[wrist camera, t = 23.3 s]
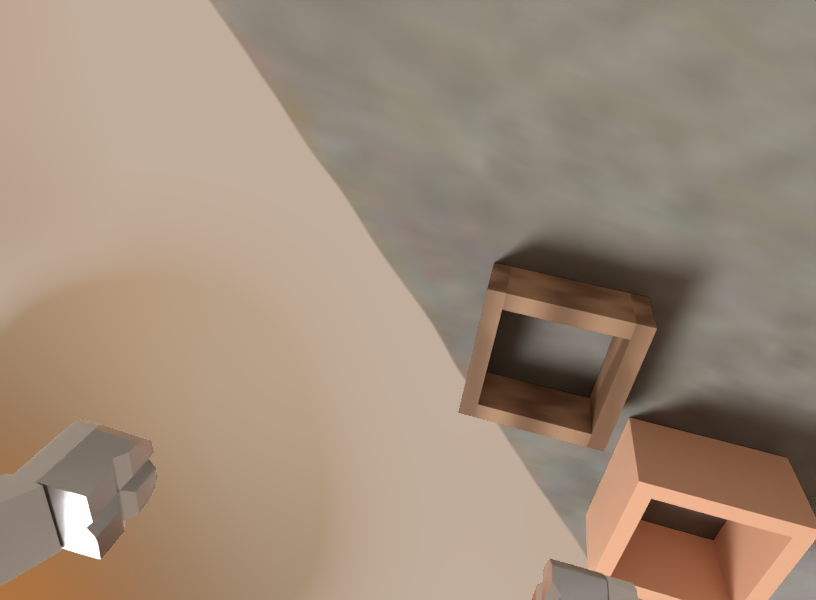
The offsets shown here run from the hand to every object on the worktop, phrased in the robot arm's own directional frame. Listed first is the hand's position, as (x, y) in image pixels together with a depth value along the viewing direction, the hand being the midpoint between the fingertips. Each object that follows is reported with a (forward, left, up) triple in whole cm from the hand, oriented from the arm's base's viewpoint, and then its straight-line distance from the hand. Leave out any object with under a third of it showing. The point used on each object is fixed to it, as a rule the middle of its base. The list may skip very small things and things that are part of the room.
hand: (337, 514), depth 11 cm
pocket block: (-8, +18, -37) cm, 42 cm away
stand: (-24, +31, -37) cm, 54 cm away
